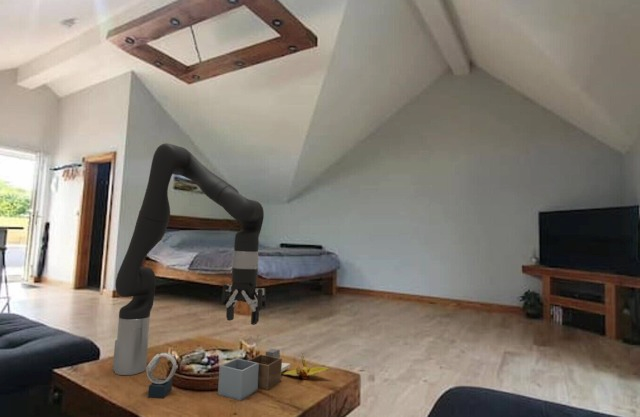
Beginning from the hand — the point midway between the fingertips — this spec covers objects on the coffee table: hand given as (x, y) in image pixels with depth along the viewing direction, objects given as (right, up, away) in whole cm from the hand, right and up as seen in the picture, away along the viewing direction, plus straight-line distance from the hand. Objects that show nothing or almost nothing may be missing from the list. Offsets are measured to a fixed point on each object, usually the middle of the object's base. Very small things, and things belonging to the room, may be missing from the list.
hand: (242, 322), depth 113 cm
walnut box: (+5, -21, +7) cm, 23 cm away
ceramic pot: (-1, -20, -1) cm, 20 cm away
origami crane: (+18, -22, +13) cm, 31 cm away
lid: (+7, -21, +16) cm, 27 cm away
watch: (-22, -19, -5) cm, 30 cm away
